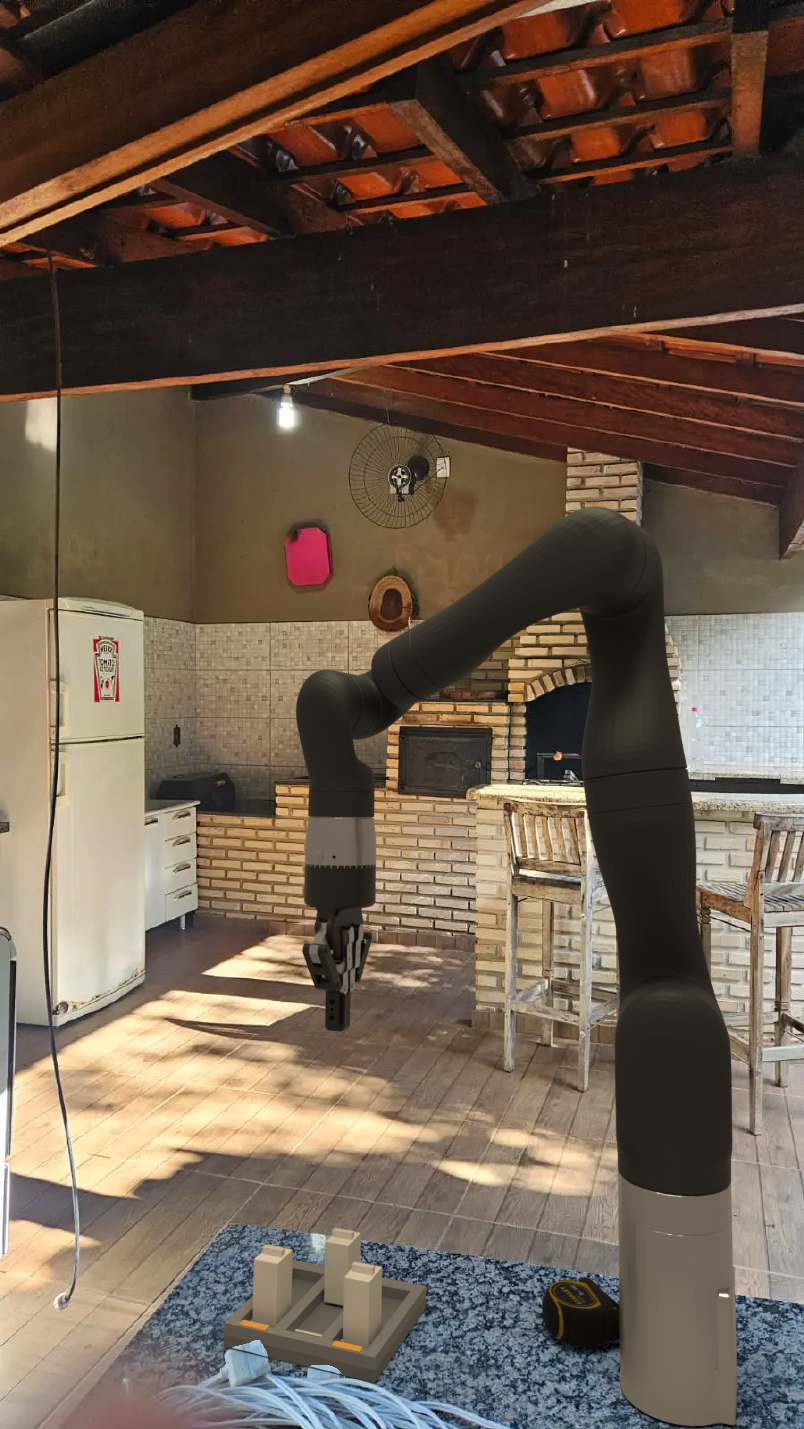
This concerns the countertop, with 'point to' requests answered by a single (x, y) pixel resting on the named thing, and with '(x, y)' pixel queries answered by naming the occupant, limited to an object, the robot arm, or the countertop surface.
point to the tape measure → (580, 1313)
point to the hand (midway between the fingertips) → (337, 1029)
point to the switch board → (329, 1326)
